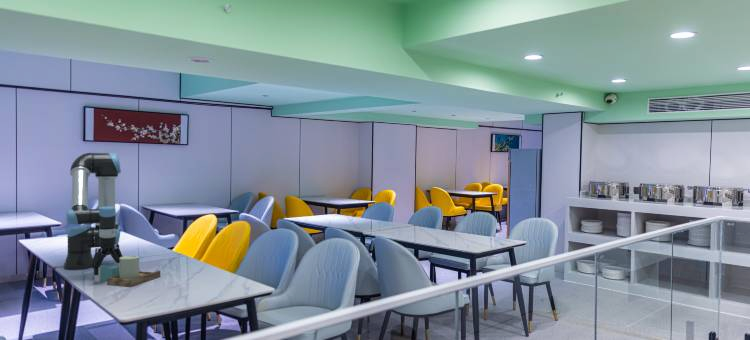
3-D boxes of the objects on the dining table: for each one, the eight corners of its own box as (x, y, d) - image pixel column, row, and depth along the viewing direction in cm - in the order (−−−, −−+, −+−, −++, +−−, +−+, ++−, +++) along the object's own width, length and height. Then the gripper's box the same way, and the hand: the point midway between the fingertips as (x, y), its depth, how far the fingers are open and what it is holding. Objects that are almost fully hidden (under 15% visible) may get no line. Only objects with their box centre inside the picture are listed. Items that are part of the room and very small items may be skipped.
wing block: (95, 280, 268) (95, 267, 268) (103, 278, 273) (103, 265, 273) (112, 282, 266) (112, 268, 265) (119, 280, 270) (119, 266, 270)
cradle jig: (107, 284, 260) (107, 278, 260) (137, 274, 282) (137, 268, 282) (131, 286, 257) (131, 280, 257) (160, 276, 278) (160, 270, 278)
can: (143, 278, 268) (143, 255, 268) (129, 282, 260) (129, 258, 259) (129, 277, 271) (129, 254, 271) (115, 281, 263) (115, 257, 262)
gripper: (94, 241, 255) (95, 284, 256) (130, 233, 280) (130, 273, 280) (82, 240, 257) (82, 283, 258) (118, 233, 281) (118, 272, 282)
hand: (107, 278), depth 269 cm, fingers open, 13 cm apart
